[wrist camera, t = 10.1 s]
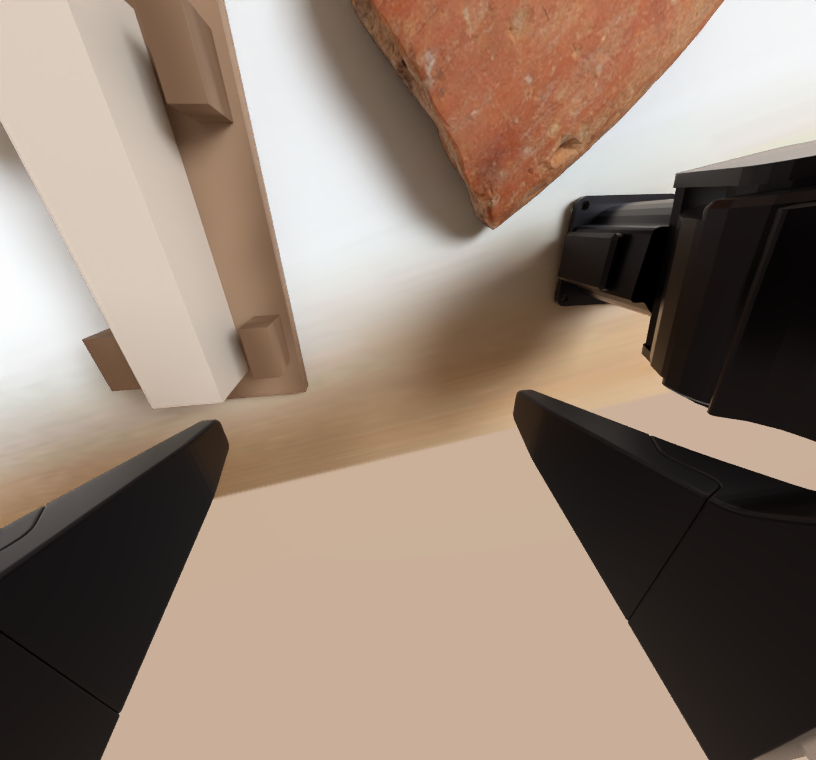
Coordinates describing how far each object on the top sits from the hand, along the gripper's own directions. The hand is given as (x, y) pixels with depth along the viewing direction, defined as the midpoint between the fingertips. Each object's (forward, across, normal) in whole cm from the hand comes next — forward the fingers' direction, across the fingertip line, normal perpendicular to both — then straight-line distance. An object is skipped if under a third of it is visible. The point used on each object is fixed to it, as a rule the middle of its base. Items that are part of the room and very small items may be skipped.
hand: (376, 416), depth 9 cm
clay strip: (+11, +10, -5) cm, 16 cm away
